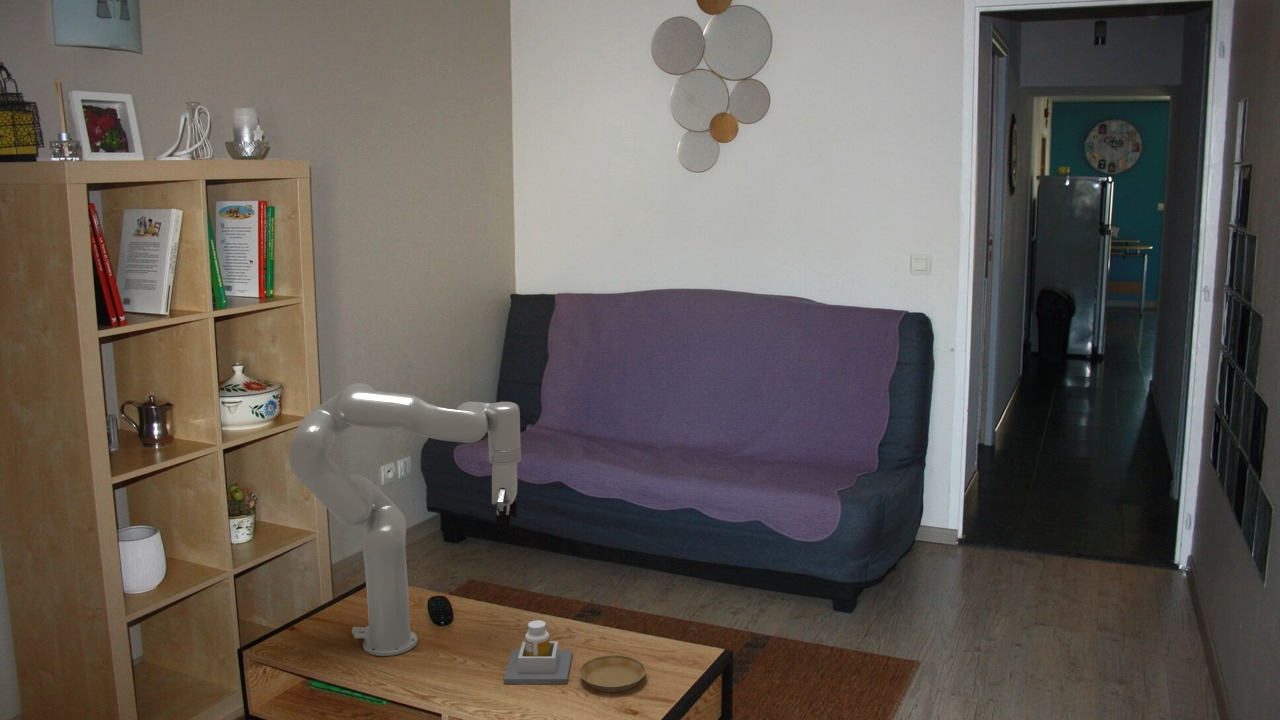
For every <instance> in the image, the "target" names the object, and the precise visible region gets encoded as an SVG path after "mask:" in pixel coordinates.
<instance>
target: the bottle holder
mask: <svg viewBox="0 0 1280 720" xmlns="http://www.w3.org/2000/svg"><path fill="white" fill-rule="evenodd" d="M549 647H550V656H526V643H525V641H522V643H521V645H520V649H512V650H511V653H510V656H509V660H508V663H507V667H506V670H505V673H504V677H503V685H568V681H569V675H570V670H571V664H572V658H573V649H560V648H559V641H550V640H549Z"/></svg>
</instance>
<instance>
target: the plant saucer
mask: <svg viewBox="0 0 1280 720" xmlns="http://www.w3.org/2000/svg"><path fill="white" fill-rule="evenodd" d="M646 668H647V667H646V666H645V664H644V663H643V662H642V661H640V660H639V659H636V658H634V657H631V656H627V655H618V654H609V655H608V654H607V655H602V656H597V657H594V658H592V659H588V660H587V661H585V662H584V663H583V664H582V665H581V666H580V668H579V671H578V672H579V675H580V678H582V680H583V681H584V682H585V683H586V684H587V685H588V686H590V687H591V688H593V689H595V690H597V691H601V692H604V693H619V692H620V691H621V692H624V691H628V690H630V689H631V688H633V687H635V686H636V685H637V684H638V683H640V681H642V679H643V678H644V677H645V675H646V673H647V669H646Z"/></svg>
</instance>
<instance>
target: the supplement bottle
mask: <svg viewBox="0 0 1280 720" xmlns="http://www.w3.org/2000/svg"><path fill="white" fill-rule="evenodd" d="M527 630H528V631H527V632H526V634H525V638H524V639H525V643H526V656H550V647H549V641H550V634H549V632H548V631H547V624H546V622H545V621H544V620H541V619H539V620H532V621H529V622H528V624H527Z"/></svg>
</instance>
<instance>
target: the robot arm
mask: <svg viewBox="0 0 1280 720" xmlns="http://www.w3.org/2000/svg"><path fill="white" fill-rule="evenodd" d="M520 412H521V411H520V407H519V405H518V404H517V403H516V402H511V401H499V402H497V401H496V402H493V403H492V402H480V401H465V402H463V403H461V404H460V405H459V406H458V407H456V409H455V408H445V407H442V406H441V407H440V406H437V405H433V404H432V403H431V404H430V403H428V402H426V401H424V400H423V399H421V398H419V397H418V396H416V395H413V394H407V393H399V392H398V393H397V392H388V391H379V390H375V389H374V388H373V387H372V385H369V384H367V383H364V382H354V383H352V384H350V385H347V386H346V387H345V388H343V389H342V390H340V391H339V392H338V393H336V394H334V395H333V396H331V397H330V398H328V399H327V400H326V401H324V402H322V404H320V405H318V406H317V407H315V408H314V409H312V410H310V412H308V413H307V414H306V415H305V416H304V417H303V418H302V420H301V422H300V424H299V425H298V426H297V429H296V430H295V433H294V435H293V437H292V439H291V441H290V445H289V448H288V461H289V466H290V469H291V471H292V473H293V474H294V476H295V477H296V478H297V480H299V482H300V483H301V484H302V485H303V486H304V487H305V488H307V489H308V491H310V492H311V494H312V495H314V497H315V498H316V499H317V500H318V501H319V502H320V503H321V505H323V506H324V507H325V508H326V509H327V510H328V511H329V512H330V513H331V514H332V515H333V516H334V518H336V519H337V520H338V521H339V522H340V523H342V524H343V525H345V526H349V527H358V526H359V527H360V528H362V529H363V531H364V532H363V537H362V553H363V554H362V555H363V561H364V562H363V563H364V571H365V572H364V573H365V587H366V601H367V615H368V616H367V619H368V625H365V627H362V626H352V629H351V635H352V636H353V637H354V639H355V640H359V639H360V640H361V639H363V642H362V643H363V645H362V646H363V647H362V648H363V650H364V652H366V653H367V654H370V655H373V656H378V657H390V656H391V657H392V656H397V655H401V654H404V653H406V652H409V651H410V650H412V649H414V647H416V646H417V644H418V636H417V633H415V632H414V631H411V623H410V622H411V619H410V601H409V600H410V599H409V583H408V569H407V565H408V564H407V553H406V552H407V551H406V550H407V549H406V548H407V547H406V545H407V544H406V538H407V537H406V535H407V520H406V518H405V515H404V513H403V511H401V510H400V509H399V507H398V506H397V505H396V504H395V503H394V502H393V501H392V500H391V499H389V497H388V496H387V495H386V494H385V493H384V492H383V491H382V490H381V489H380V488H379V487H378V486H377V485H376V484H375V483H373V481H371V480H370V479H369V478H367V477H365V476H362V475H357V474H355V475H354V474H353V475H348V473H347V472H345V470H344V469H343V468H342V467H341V466H340V465H339V464H337V462H335V461H333V460H332V459H331V458H330V456H329V451H330V449H331V448H332V446H333V443H334V441H335V439H336V438H337V437H339V436H340V435H341V434H343V433H344V432H346V431H347V430H349V429H351V427H353V426H354V427H364V428H371V429H372V428H373V429H382V430H390V431H391V430H392V431H401V432H407V433H410V434H414V435H417V436H422V437H426V438H429V439H434V440H439V441H444V442H445V441H446V442H454V443H455V442H456V443H467V444H468V443H469V444H470V443H475V442H478V441H480V440H481V439H483V438H484V437H485V435H486V434H487V437H488V438H487V440H488V441H487V442H488V443H487V444H488V461H489V463H490V464H492V466H491V467H492V470H491V504H492V505H494V506H495V505H497V507H496V516H495V517H496V530H497V531H498V532H511V529H512V524H511V523H512V522H511V521H512V520H511V518H516V517H517V516H518V515H517V514H518V512H517V497H516V496H517V494H518V463H519V462H521V461H522V451H521V450H522V448H521V418H520V416H521V413H520Z"/></svg>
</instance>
